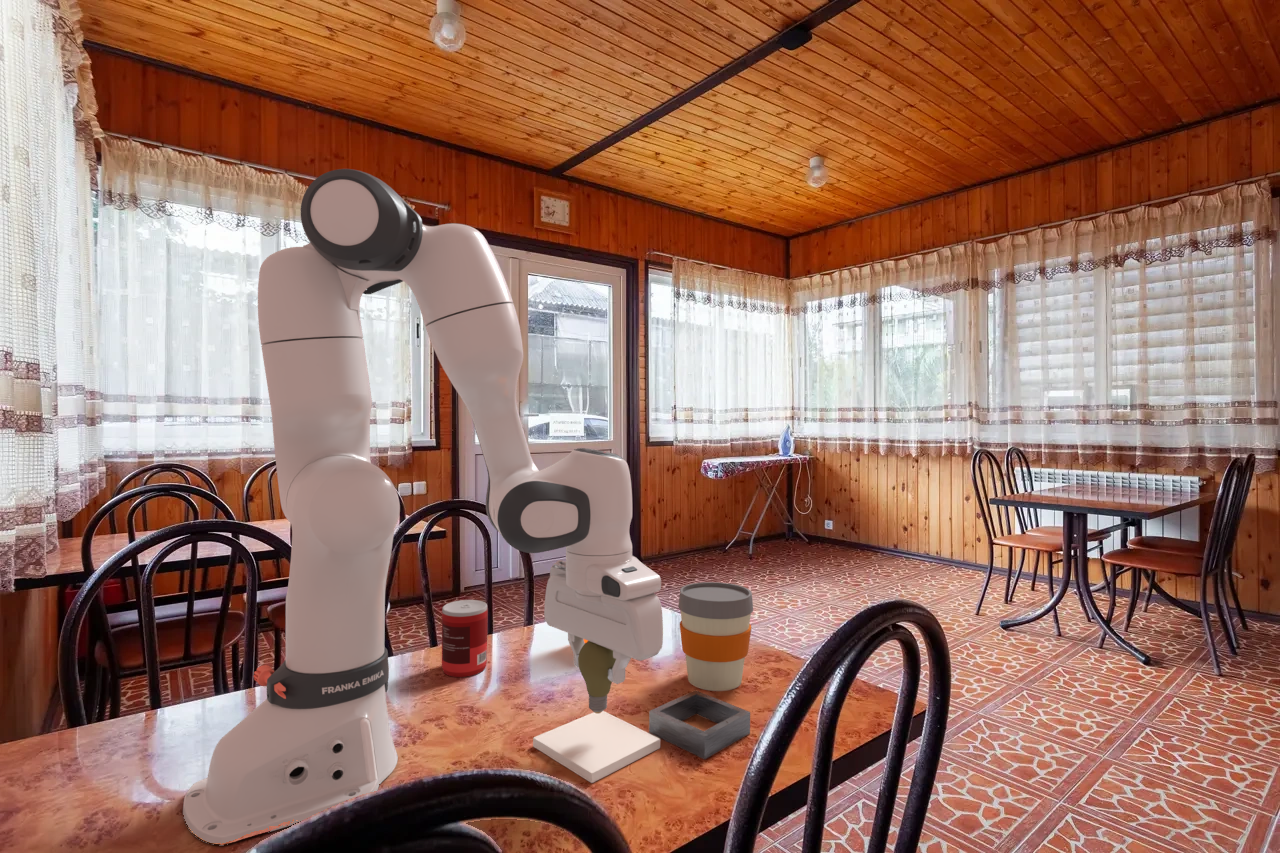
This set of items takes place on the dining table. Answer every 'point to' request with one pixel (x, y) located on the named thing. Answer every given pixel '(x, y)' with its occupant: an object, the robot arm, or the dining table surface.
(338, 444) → the robot arm
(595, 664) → the light bulb
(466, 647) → the canned food
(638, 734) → the cream pad
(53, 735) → the dining table surface
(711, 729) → the square socket
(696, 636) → the reusable coffee cup
